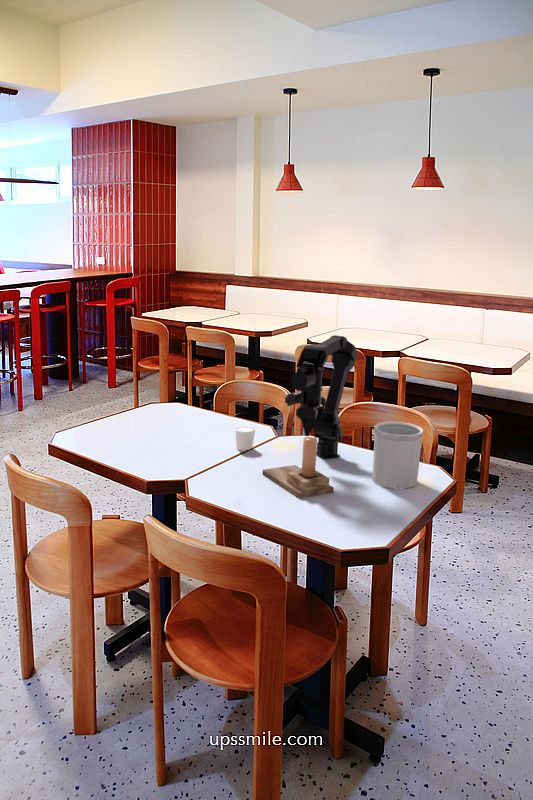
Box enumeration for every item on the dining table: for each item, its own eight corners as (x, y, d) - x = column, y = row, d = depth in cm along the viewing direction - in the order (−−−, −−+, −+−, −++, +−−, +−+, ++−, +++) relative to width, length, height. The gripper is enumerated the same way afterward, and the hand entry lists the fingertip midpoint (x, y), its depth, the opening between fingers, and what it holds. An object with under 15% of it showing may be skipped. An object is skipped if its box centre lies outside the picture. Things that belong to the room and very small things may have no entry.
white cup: (231, 449, 238) (232, 430, 236) (239, 444, 244) (240, 425, 242) (249, 452, 235) (250, 433, 234) (257, 447, 241) (258, 428, 240)
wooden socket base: (295, 469, 220) (295, 456, 219) (333, 492, 201) (334, 478, 200) (262, 474, 214) (263, 460, 213) (299, 498, 196) (299, 483, 195)
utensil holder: (403, 494, 202) (408, 437, 198) (361, 481, 212) (365, 427, 207) (427, 482, 213) (432, 428, 209) (385, 470, 223) (390, 418, 218)
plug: (310, 471, 204) (312, 436, 202) (317, 475, 201) (319, 440, 198) (298, 473, 202) (300, 438, 200) (306, 477, 199) (308, 441, 196)
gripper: (294, 377, 227) (292, 422, 230) (281, 388, 209) (278, 437, 213) (327, 380, 224) (324, 425, 228) (316, 392, 206) (313, 441, 210)
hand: (309, 432), depth 220 cm, fingers open, 9 cm apart
